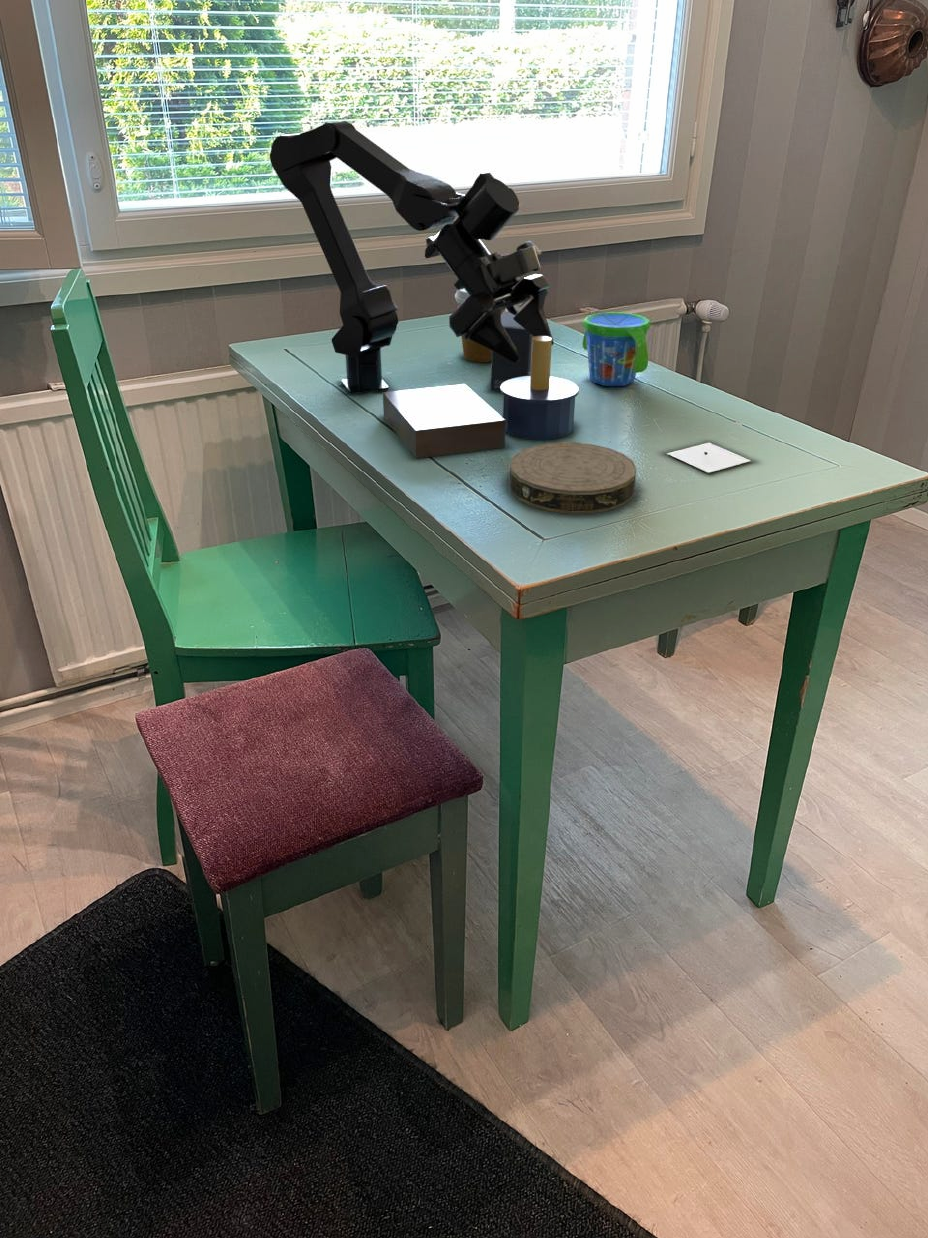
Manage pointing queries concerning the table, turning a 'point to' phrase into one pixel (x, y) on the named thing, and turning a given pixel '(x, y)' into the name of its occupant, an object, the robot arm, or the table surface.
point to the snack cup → (615, 347)
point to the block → (443, 420)
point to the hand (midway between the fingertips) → (535, 353)
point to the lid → (540, 379)
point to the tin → (538, 419)
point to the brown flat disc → (572, 477)
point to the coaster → (708, 457)
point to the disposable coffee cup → (470, 347)
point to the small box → (504, 367)
